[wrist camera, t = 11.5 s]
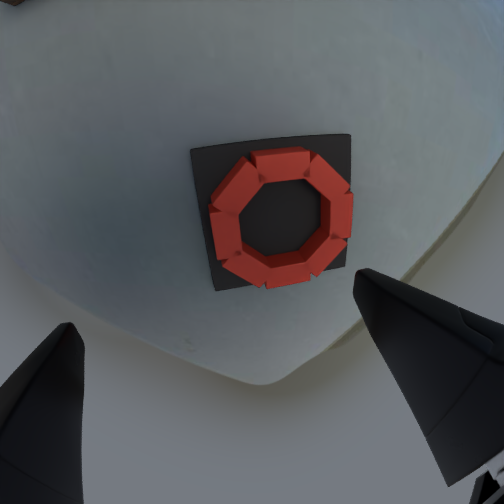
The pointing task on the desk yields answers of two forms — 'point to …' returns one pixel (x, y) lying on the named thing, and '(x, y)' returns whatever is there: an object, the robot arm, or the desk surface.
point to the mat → (268, 199)
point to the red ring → (242, 191)
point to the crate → (12, 2)
